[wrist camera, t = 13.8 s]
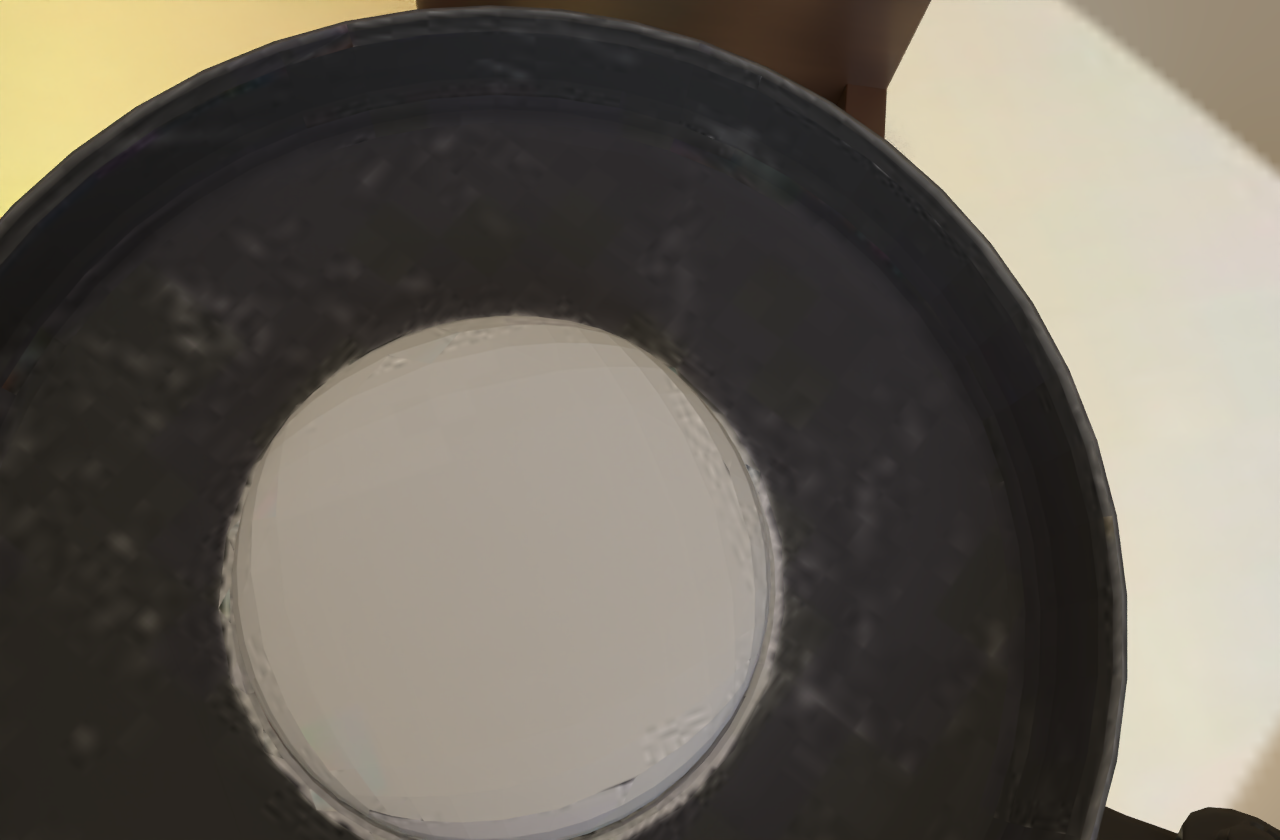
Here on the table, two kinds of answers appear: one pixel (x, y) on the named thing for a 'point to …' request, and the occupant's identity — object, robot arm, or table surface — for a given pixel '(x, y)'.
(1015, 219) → the table surface
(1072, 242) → the table surface
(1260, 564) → the table surface
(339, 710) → the travel mug
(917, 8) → the shelf rack
